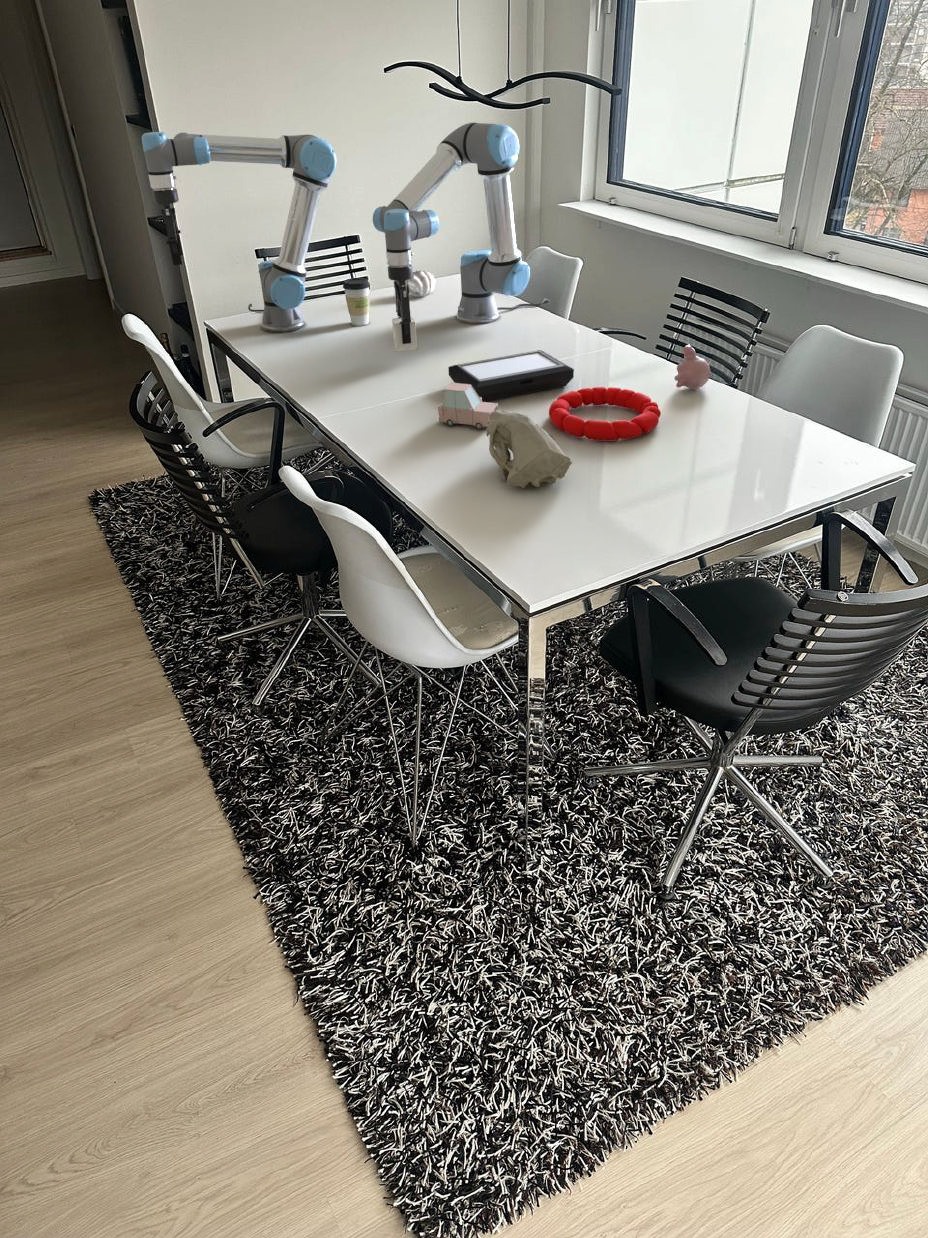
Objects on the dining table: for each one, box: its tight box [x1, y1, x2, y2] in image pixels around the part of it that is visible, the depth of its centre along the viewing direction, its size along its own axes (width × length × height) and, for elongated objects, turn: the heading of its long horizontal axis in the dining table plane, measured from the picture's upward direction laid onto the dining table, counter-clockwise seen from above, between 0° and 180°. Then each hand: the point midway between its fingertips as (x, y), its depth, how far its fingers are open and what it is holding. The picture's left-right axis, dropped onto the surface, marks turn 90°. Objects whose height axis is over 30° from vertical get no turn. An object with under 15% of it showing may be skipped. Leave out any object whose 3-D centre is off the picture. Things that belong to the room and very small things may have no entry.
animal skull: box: [485, 409, 573, 489], centre depth 216 cm, size 17×25×20 cm
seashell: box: [406, 270, 436, 298], centre depth 352 cm, size 10×15×10 cm
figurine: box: [674, 344, 711, 390], centre depth 259 cm, size 9×11×12 cm
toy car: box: [437, 382, 499, 431], centre depth 243 cm, size 9×15×10 cm, turn 70°
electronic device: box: [448, 349, 575, 402], centre depth 267 cm, size 32×6×20 cm
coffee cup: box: [342, 277, 371, 327], centre depth 323 cm, size 10×10×15 cm
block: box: [391, 316, 418, 352], centre depth 285 cm, size 6×6×9 cm
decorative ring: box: [548, 386, 661, 442], centre depth 242 cm, size 7×30×30 cm
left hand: (178, 259), depth 290 cm, fingers open, 13 cm apart
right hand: (405, 340), depth 286 cm, fingers closed on block, 6 cm apart
